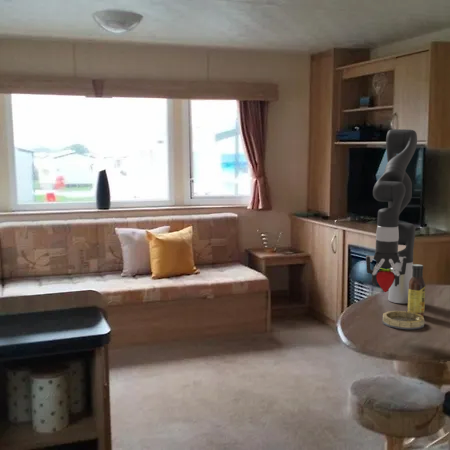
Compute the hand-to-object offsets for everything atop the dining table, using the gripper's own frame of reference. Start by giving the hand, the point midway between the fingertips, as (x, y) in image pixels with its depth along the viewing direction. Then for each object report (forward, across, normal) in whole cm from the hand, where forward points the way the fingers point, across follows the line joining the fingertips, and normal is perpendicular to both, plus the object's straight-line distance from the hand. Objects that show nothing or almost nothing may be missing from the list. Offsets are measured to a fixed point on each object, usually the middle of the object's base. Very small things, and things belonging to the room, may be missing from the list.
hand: (385, 285), depth 206 cm
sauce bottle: (+17, -14, -23) cm, 32 cm away
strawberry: (+3, 0, 0) cm, 3 cm away
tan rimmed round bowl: (+17, -8, -11) cm, 22 cm away
